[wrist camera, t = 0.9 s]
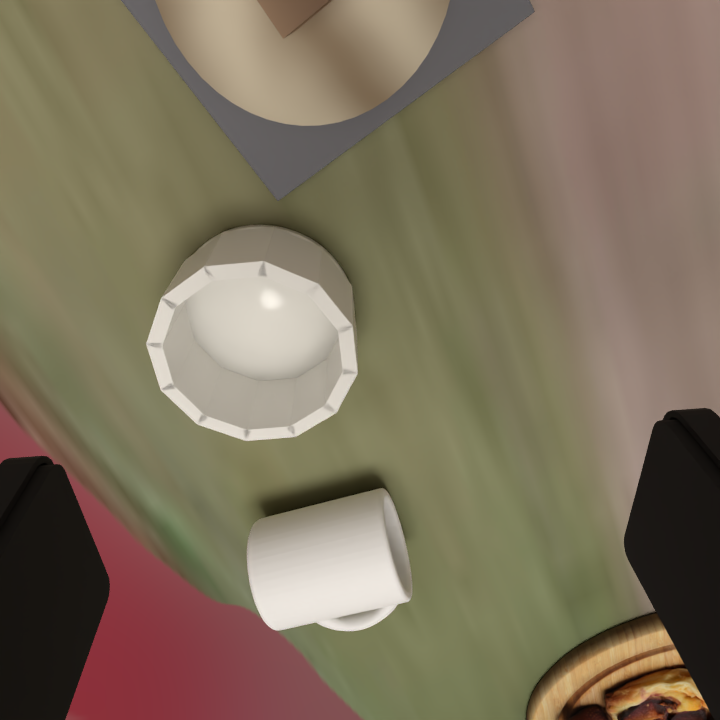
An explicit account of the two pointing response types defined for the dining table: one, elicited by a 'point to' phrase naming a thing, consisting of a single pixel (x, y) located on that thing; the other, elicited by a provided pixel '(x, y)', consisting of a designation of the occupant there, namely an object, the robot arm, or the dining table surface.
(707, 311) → the dining table surface
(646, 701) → the wooden plate with food
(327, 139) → the mat
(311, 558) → the mug
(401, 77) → the lid
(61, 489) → the robot arm
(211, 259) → the bowl
